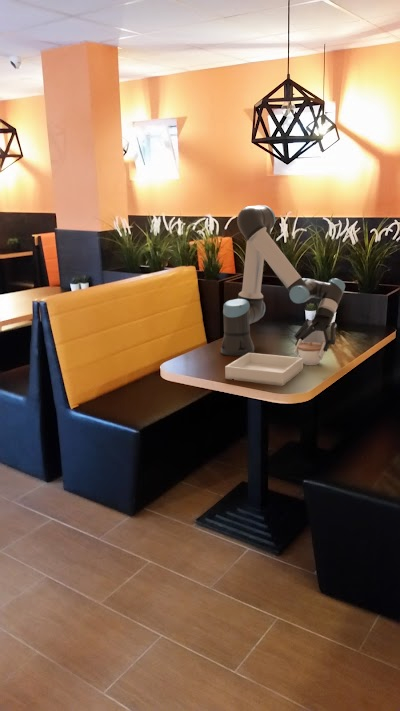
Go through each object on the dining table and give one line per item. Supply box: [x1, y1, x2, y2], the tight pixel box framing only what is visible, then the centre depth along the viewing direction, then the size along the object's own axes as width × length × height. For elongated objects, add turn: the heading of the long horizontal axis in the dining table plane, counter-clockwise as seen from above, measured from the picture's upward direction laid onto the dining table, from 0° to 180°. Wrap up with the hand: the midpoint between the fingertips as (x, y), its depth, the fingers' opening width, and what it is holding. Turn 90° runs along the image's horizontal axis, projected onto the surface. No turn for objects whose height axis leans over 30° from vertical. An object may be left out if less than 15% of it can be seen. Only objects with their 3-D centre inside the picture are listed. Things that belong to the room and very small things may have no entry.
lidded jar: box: [298, 341, 323, 366], centre depth 247 cm, size 11×11×9 cm
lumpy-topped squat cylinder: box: [302, 324, 326, 344], centre depth 284 cm, size 10×13×9 cm
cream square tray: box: [224, 352, 304, 387], centre depth 236 cm, size 24×22×5 cm
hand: (307, 355), depth 245 cm, fingers closed on lidded jar, 11 cm apart
